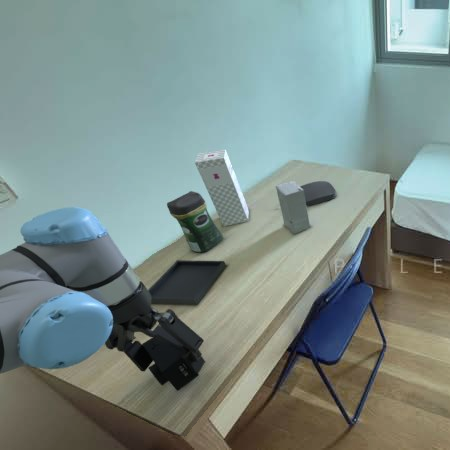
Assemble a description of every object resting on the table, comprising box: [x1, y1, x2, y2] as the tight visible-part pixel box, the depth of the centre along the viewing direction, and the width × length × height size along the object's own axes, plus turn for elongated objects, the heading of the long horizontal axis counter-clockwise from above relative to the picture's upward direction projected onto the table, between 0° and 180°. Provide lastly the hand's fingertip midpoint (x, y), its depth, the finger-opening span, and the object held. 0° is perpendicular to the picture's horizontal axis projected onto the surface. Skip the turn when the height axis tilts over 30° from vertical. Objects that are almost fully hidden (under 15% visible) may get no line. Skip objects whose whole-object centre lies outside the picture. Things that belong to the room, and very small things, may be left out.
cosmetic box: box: [275, 180, 311, 235], centre depth 106 cm, size 8×7×16 cm
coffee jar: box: [166, 190, 223, 253], centre depth 98 cm, size 10×8×19 cm
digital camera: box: [141, 337, 200, 392], centre depth 63 cm, size 10×5×7 cm, turn 53°
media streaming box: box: [299, 180, 337, 206], centre depth 128 cm, size 15×15×3 cm
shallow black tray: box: [148, 259, 227, 306], centre depth 88 cm, size 15×15×2 cm
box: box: [194, 148, 250, 227], centre depth 109 cm, size 8×8×25 cm
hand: (173, 366), depth 64 cm, fingers closed on digital camera, 11 cm apart
